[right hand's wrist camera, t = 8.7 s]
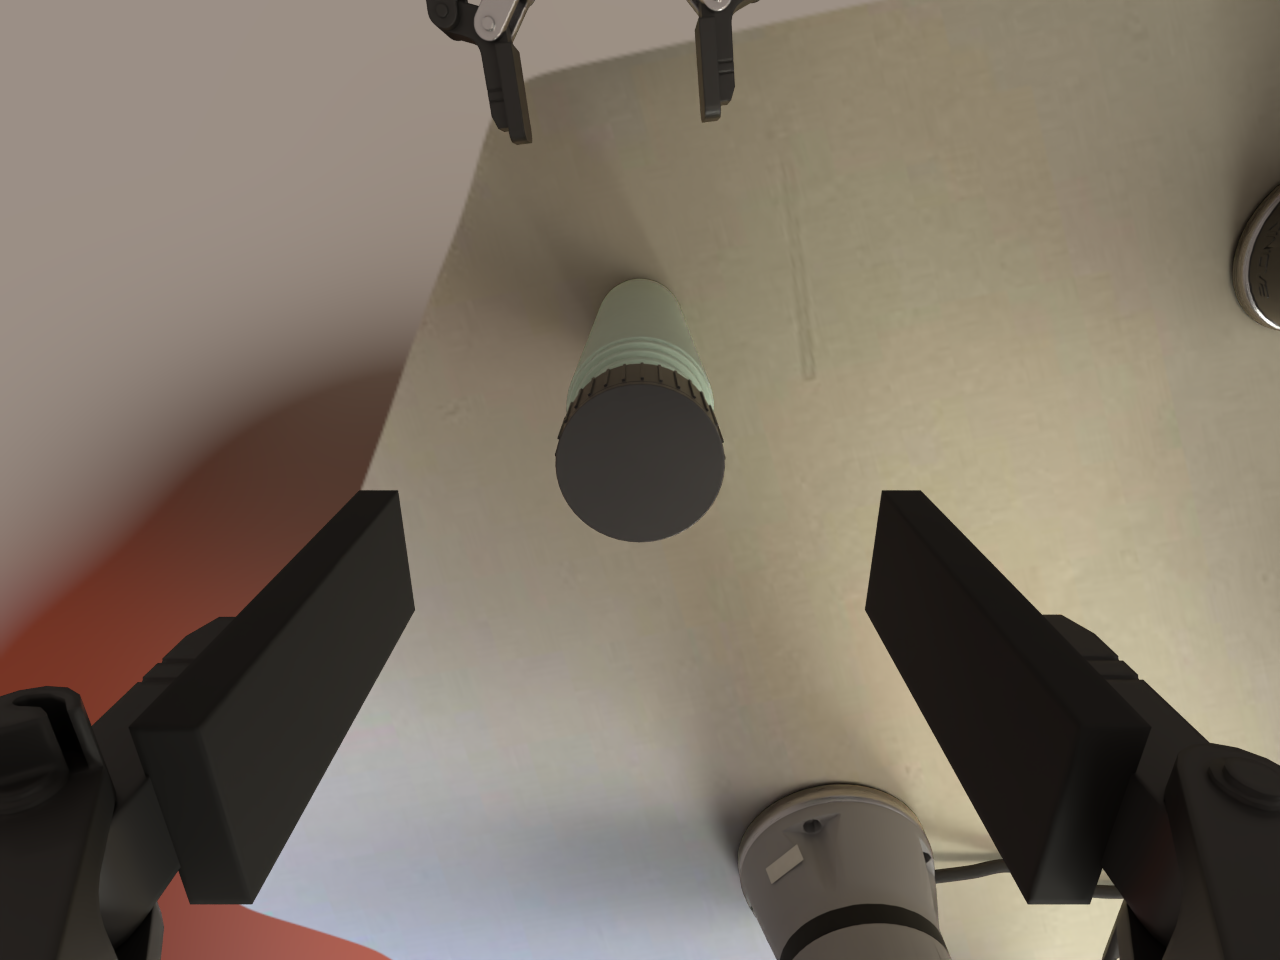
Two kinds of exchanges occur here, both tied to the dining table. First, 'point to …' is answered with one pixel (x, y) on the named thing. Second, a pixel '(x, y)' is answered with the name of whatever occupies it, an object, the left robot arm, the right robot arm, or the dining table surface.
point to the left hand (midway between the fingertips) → (616, 131)
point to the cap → (640, 453)
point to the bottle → (640, 336)
